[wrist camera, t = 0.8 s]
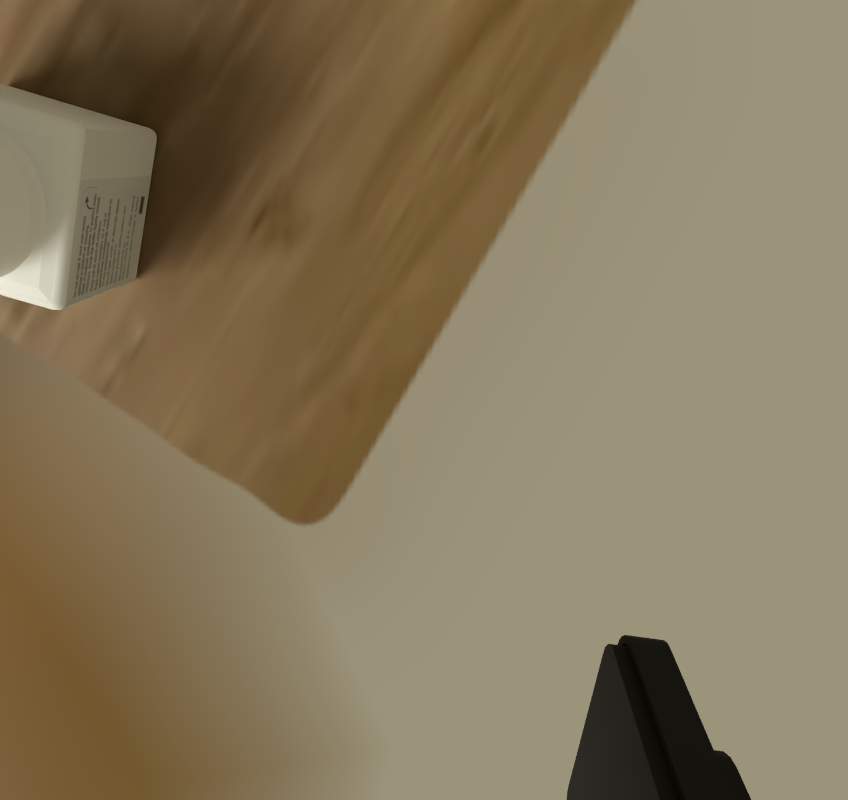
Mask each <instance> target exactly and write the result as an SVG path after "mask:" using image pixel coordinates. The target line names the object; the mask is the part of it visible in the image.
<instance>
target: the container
mask: <svg viewBox="0 0 848 800" xmlns="http://www.w3.org/2000/svg"><path fill="white" fill-rule="evenodd" d="M156 142H157V135H156V133H155V132H154V131H153V130H152V129H150V128H147V127H144V126H141V125H137V124H134V123H131V122H127V121H124V120H121V119H117V118H114V117H111V116H107V115H104V114H101V113H97V112H94V111H91V110H87V109H84V108H81V107H77V106H74V105H71V104H67V103H64V102H61V101H57V100H54V99H51V98H47V97H44V96H41V95H37V94H34V93H31V92H27V91H24V90H21V89H17V88H14V87H11V86H7V85H2V84H0V295H3V296H7V297H10V298H14V299H17V300H21V301H24V302H28V303H31V304H35V305H38V306H42V307H45V308H49V309H52V310H61V309H64V308H66V307H69V306H71V305H74V304H77V303H79V302H82V301H84V300H87V299H90V298H92V297H95V296H97V295H100V294H103V293H105V292H108V291H110V290H113V289H116V288H118V287H121V286H123V285H126V284H129V283H131V282H133V281H134V280H135V278H136V275H137V268H138V262H139V255H140V248H141V242H142V235H143V228H144V222H145V215H146V208H147V202H148V195H149V188H150V182H151V175H152V168H153V162H154V155H155V148H156Z"/></svg>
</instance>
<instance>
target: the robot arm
mask: <svg viewBox="0 0 848 800" xmlns="http://www.w3.org/2000/svg"><path fill="white" fill-rule="evenodd" d="M567 800H751V798H750V796H749V794H748V792H747V790H746V787H745V785H744V783H743V781H742V778H741V776H740V774H739V772H738V770H737V768H736V766H735V764H734V763H733V761H732V759H731V757H729V756H728V755H727V754H726V753H725V752H723V751H715V750H713V748H712V745H711V743H710V741H709V738H708V736H707V734H706V731H705V729H704V727H703V724H702V722H701V720H700V718H699V715H698V712H697V710H696V708H695V706H694V704H693V701H692V698H691V696H690V694H689V691H688V689H687V687H686V684H685V682H684V680H683V677H682V675H681V673H680V670H679V668H678V665H677V663H676V661H675V658H674V656H673V654H672V652H671V649H670V647H669V645H668V644H667V642H665V641H664V640H658V639H650V638H642V637H635V636H628V635H624V636H622V637H621V639H620V640H619V643H618V645H612V644H608V645H607V646H606V647H605V650H604V653H603V657H602V660H601V664H600V668H599V672H598V675H597V679H596V683H595V687H594V691H593V696H592V698H591V702H590V706H589V710H588V714H587V718H586V721H585V725H584V729H583V733H582V737H581V741H580V744H579V748H578V752H577V756H576V760H575V764H574V767H573V771H572V775H571V779H570V783H569V787H568V792H567Z"/></svg>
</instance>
